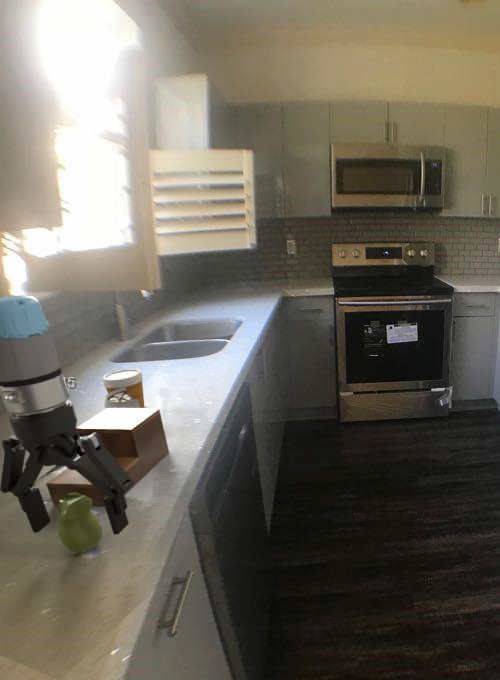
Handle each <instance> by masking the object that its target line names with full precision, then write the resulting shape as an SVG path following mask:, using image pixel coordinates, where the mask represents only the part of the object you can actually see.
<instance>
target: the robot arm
mask: <svg viewBox="0 0 500 680" xmlns="http://www.w3.org/2000/svg"><path fill="white" fill-rule="evenodd" d="M0 397H1V400H2V402H3V406H4V409H5V410H6V412H8V413H10V414H9V415H8V420H9V422H10V425H11V429H12V430H13V434H12V435H11V436H8V437H7V438H4V439H3V440H2V441H1V444H2V448H3V451H4V455H3V456H4V457H3V464H2V472H1V479H0V492H1V493H3V494H7V493H11V494H12V495H13V496H14V497H16V498H17V500H18V502H19V505H20V508H21V511H22V512H23V513H25V515H26V517H27V519H28V522H29V524H30V527H31V529H32V533H34V534H37V533H39V532H41V531H42V530H43V529H44V528H46V526H48V525H50V524H51V522H52V521H51V517H50V515H49V512H48V510H47V507H46V505H45V502H44V498H43V496H42V493H41V491H40V488H39V487H34V486H36V485H37V484H36V481H37V479H38V477H39V475H40V474H41V472H42V470H43V468H44V467H52V466H56V467H65V468H66V469H67V468H69V469H70V470H76V471H77V472H78V473H79V474H81V475H82V476H83V477H84V478H85V479H87V480H88V481H89V482H90V483H92V484H93V485H94V486H95V487H96V488H98V489H99V490H100V491H101V492H103V493H104V494H105V495H106V497H105V498H104V499H103V502H104V505H105V506H104V508H105V511H106V515H107V517H108V520H109V524H110V527H111V531H112V534H113V535H114V536H115V535H117V536H118V535H120V534H121V532H123V530H124V529H125V528H126V527H127V526H128V525H129V524H130V522H129V519H128V516H127V511H126V510H127V509H128V503H127V500H126V497H125V495H124V493H125V492H126V491H127V490H129V489H130V488H131V487H132V486H133V485H134V481H133V480H132V479H131V478H130V476H129V475H128V474H127V473H126V472H125V470H124V469H123V468H122V467H121V465H120V464H119V463H118V462H117V461H116V459H115V458H114V457H113V456H112V454H111V453H110V452H109V451H108V450H107V448H106V447H105V446H104V444H103V442H102V439H101V437H100V435H99V434H98V433H96V432H95V433H93V434H91V435H90V436H84V437H81V436H80V435H79V434H78V433H77V431H76V428H77V426H78V417H77V414H76V412H75V411H76V410H75V408H74V405H73V402H72V401H71V400H70V399H69V398H71V394H70V392H69V389H68V385H67V382H66V379H65V377H64V373H63V371H62V368H61V364H60V360H59V356H58V353H57V350H56V346H55V343H54V340H53V336H52V333H51V329H50V323H49V321H48V320H47V318H46V317H45V314H44V311H43V308H42V305H41V303H40V301H39V300H38V299H37V298H35V297H34V296H31V295H25V294H24V295H20V294H19V295H6V296H0ZM26 452H28V453H29V455H28V457H27V459H26V458H25V457H26ZM77 456H79V458H77ZM25 459H26V461H25ZM24 466H25V467H24ZM110 486H112V487H113V488H112V489H111V487H110ZM132 488H133V487H132ZM132 488H131V489H132ZM131 489H130V490H131ZM130 490H129V491H130Z"/></svg>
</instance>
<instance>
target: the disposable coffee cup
mask: <svg viewBox="0 0 500 680" xmlns="http://www.w3.org/2000/svg"><path fill="white" fill-rule="evenodd" d="M143 379H144V374H143V373H142V372H141V370H140V369H136V368H126V369H125V368H124V369H119V370H114V371H112V372H109V373H106V374H105V375H103V376H102V382H101V384H102V385H103V387H104V388H105V390H106V392H107V394H109V393H111V392H112V391H115V390H117V389H120V388H124V387H125V388H126V392H127V393H128V394H130V395H131V396H132V397H133V398H134V399H135V400H136V399H138V402H139V405H140V408H146V407H145V406H146V405H145V396H144V395H145V394H144V386H143Z"/></svg>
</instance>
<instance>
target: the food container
mask: <svg viewBox="0 0 500 680" xmlns="http://www.w3.org/2000/svg"><path fill="white" fill-rule="evenodd" d="M104 408H105V410H106V409H107V408H140V405H139V402H138V399H136V400H135V399H134V398H133V397H132V396H131V395H130V394H128V393H127V392H126V388H125V387H124V388H120V389H117V390H115V391H112V392H111V393H109V394H108V393H107V394H106V395H105V397H104Z"/></svg>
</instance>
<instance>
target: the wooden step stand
mask: <svg viewBox="0 0 500 680" xmlns="http://www.w3.org/2000/svg"><path fill="white" fill-rule="evenodd" d="M76 431H77V433H78V434H79V435H80V436H81V437H84V436H90V435H91V434H93V433H95V432H96V433H98V434H99V435H100V437H101V439H102V442H103V444H104V446H105V447H106V448H107V450H108V451H109V452H110V453H111V454H112V456H113V457H114V458H115V459H116V461H117V462H118V463H119V464H120V465H121V467H122V468H123V469H124V470H125V472H126V473H127V474H128V475H129V476H130V478H131V479H132V480H133V481H134V485H133V486H132V487H131V488H130V489H129V490H127V491H126V492H125V493H124V496H125V495H127V493H129V492H130V491H131V490H132V489H133V488H134V487H135V486H136V485H137V484H138V483H139V482H140V481H141V480H142V479H143V478H144V477H146V475H148V474H149V473H150V472H151V471H152V470H153V469H154V468H155V467H156V466H157V465H158V464H159V463H160V462H162V461H163V459H165V458H166V456H167V455H169V454H170V450H169V445H168V442H167V436H166V433H165V429H164V424H163V420H162V415H161V410H160V408H148V407H147V408H146V407H145V408H107V409H106V408H105V409H104V410H101V412H99V413H97V414H96V415H94V416H93V417H91V418H90V419H88V420H87V421H85V422H83V423H82V424H80V425H77V426H76ZM45 485H46V488H47V490H48V493H49V496H50V499H51V503H52V505H53V506H54V505H55V506H56V505H57V506H58V505H59V501H60V500H62V499H63V498H64V495H68V494H70V493H79V494H80V495H83V496H87V497H88V498H90V499H91V500H92V507H105V505H104V502H103V499H104V498H105V497H106V495H105V494H104V493H103V492H101V491H100V490H99V489H98V488H96V487H95V486H94V485H93V484H92V483H90V482H89V481H88V480H87V479H85V478H84V477H83V476H82V475H81V474H79V473H78V472H77V471H76V470H70V469H69V468H67V467H66V468H65V469H63V470H62V471H61V472H60V473H58V474H57V475H55V476H54V477H53V478H52V479H50V480H49V481H47V482H46V483H45ZM110 487H111V489H112V488H113V487H112V486H110Z"/></svg>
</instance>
